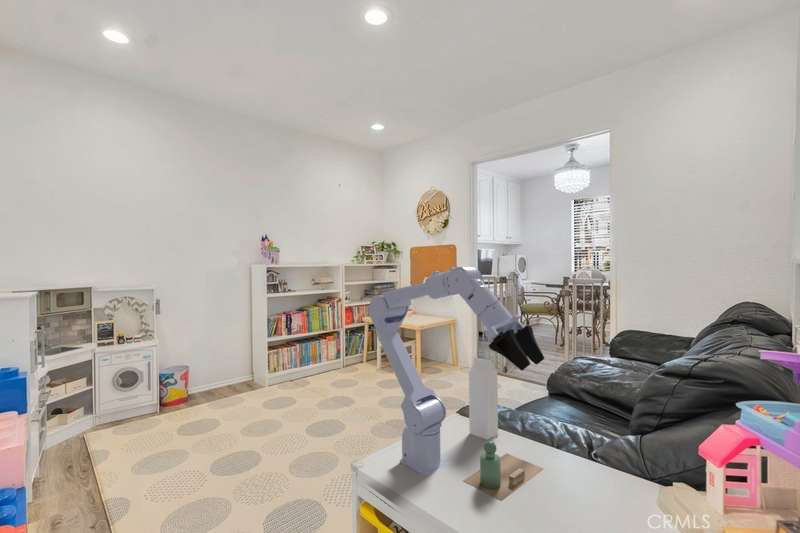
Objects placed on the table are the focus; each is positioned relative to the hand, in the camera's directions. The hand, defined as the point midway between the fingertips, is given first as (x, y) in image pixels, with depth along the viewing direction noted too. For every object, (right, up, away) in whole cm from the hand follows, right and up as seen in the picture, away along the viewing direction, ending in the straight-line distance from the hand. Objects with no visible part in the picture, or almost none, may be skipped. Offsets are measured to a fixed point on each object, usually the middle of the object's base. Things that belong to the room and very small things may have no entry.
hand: (533, 364), depth 73 cm
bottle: (-6, -29, +10) cm, 31 cm away
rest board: (-2, -30, +13) cm, 33 cm away
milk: (-2, -30, +35) cm, 46 cm away
